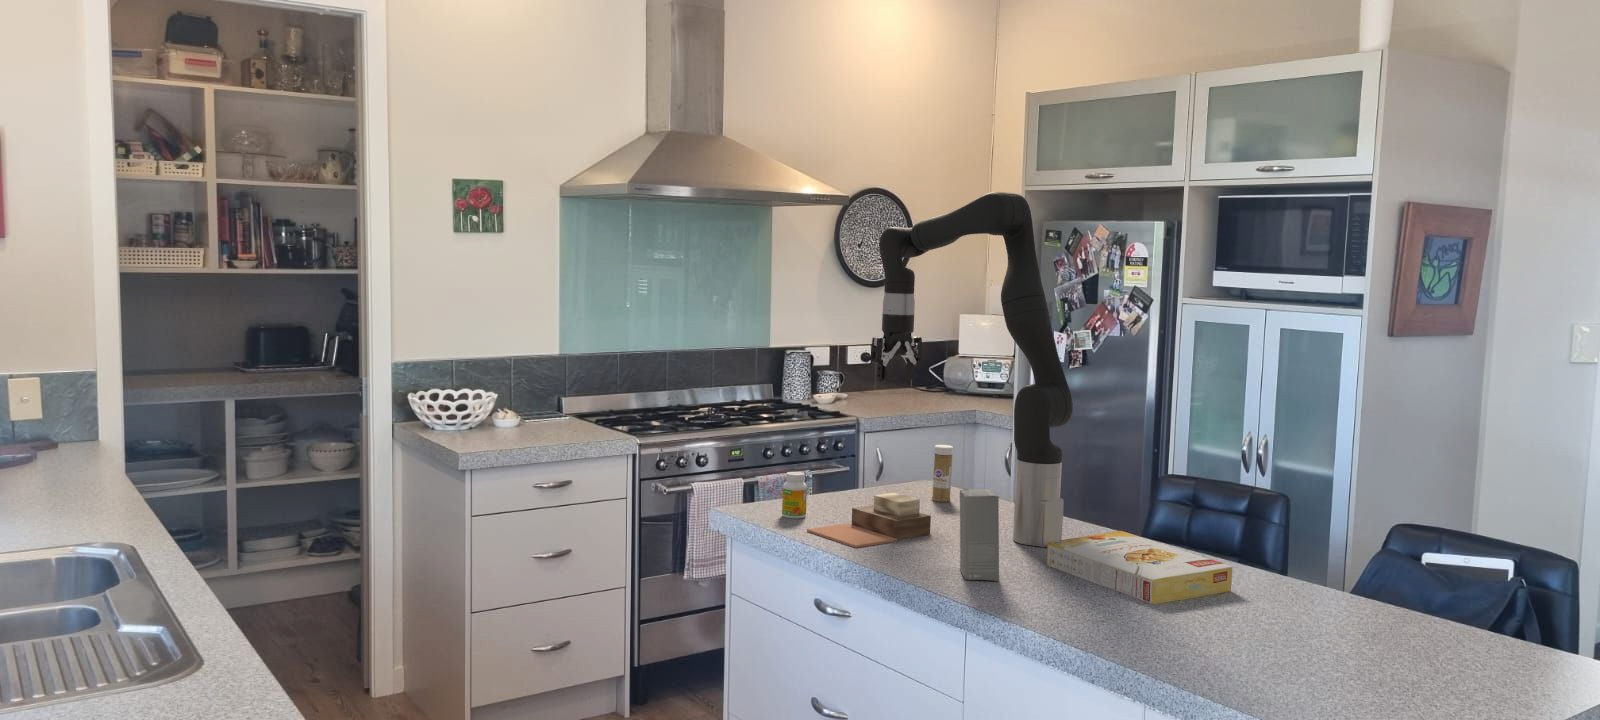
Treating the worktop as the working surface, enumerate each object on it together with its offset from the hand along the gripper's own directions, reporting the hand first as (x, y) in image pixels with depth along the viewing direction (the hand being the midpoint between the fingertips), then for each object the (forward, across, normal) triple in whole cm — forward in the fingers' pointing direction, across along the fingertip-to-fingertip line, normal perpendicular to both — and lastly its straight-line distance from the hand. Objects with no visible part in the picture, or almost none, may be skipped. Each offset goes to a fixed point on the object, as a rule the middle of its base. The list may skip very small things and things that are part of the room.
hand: (895, 380), depth 280 cm
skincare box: (+30, -30, -57) cm, 71 cm away
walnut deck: (+29, -20, -22) cm, 41 cm away
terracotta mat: (+29, -31, -22) cm, 48 cm away
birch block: (+24, -18, -22) cm, 37 cm away
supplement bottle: (+29, -30, -1) cm, 42 cm away
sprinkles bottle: (+29, +12, -5) cm, 32 cm away
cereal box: (+30, -5, -74) cm, 80 cm away
